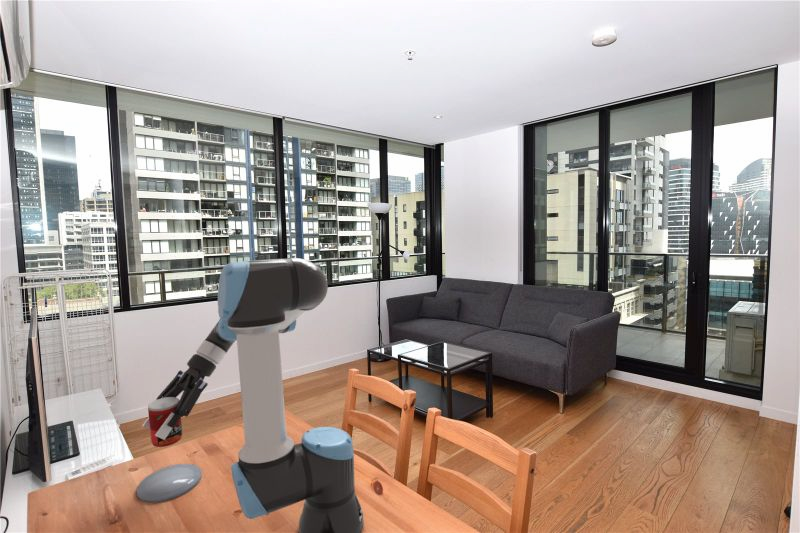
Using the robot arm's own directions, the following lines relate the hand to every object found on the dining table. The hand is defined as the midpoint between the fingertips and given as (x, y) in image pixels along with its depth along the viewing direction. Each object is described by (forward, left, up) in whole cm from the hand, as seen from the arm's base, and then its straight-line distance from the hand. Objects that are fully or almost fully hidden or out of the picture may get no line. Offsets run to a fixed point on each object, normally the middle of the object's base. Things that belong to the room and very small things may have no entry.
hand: (152, 432), depth 114 cm
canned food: (0, -3, -4) cm, 5 cm away
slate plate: (0, -3, -16) cm, 17 cm away
